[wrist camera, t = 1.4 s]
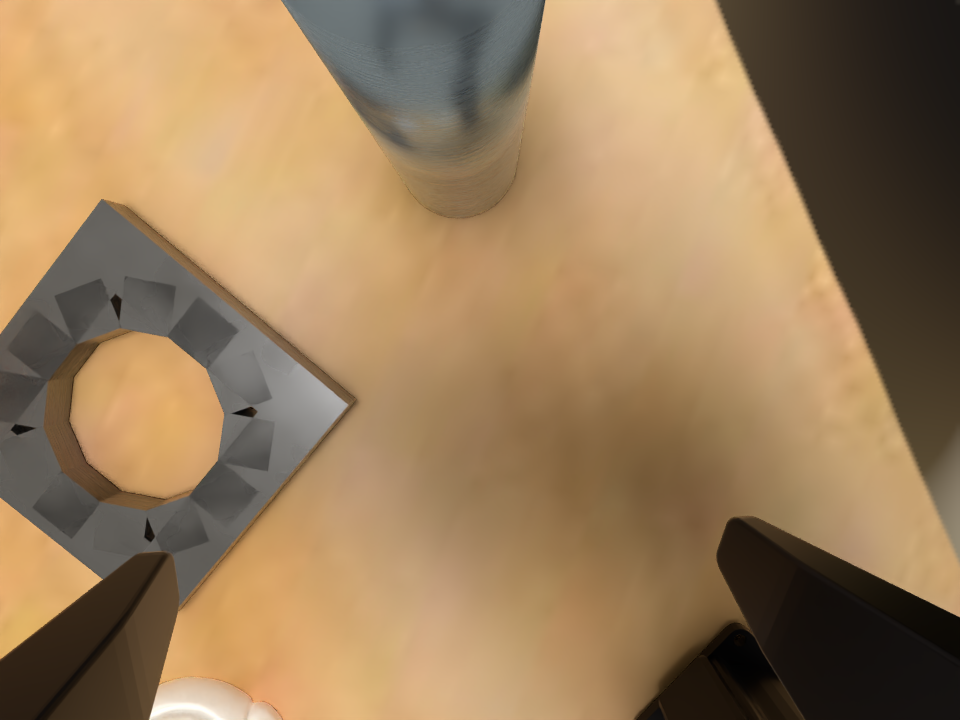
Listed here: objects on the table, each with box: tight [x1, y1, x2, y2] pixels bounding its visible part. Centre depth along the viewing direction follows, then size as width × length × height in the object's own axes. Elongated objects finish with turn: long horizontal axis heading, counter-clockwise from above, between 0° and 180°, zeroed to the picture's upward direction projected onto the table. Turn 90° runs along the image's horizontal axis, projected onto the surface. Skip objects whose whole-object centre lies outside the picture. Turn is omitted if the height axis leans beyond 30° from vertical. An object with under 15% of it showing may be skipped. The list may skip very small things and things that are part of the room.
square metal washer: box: [0, 199, 356, 611], centre depth 21 cm, size 12×12×1 cm
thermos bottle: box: [281, 0, 545, 218], centre depth 13 cm, size 5×5×14 cm
